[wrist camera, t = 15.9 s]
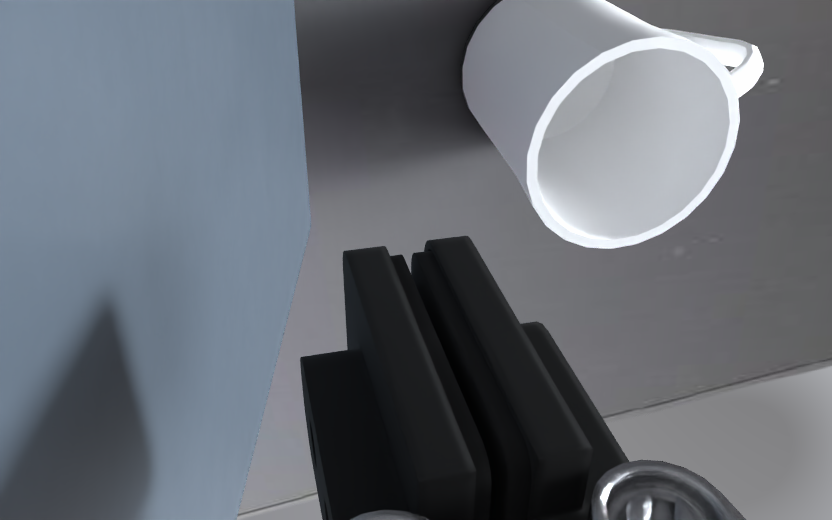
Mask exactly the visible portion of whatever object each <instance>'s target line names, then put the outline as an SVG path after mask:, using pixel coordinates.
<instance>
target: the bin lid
mask: <svg viewBox="0 0 832 520" xmlns="http://www.w3.org/2000/svg"><path fill="white" fill-rule="evenodd" d="M310 228H311V216H310V203H309V190H308V177H307V164H306V151H305V139H304V126H303V113H302V100H301V87H300V74H299V62H298V49H297V36H296V23H295V10H294V0H0V520H236V519H237V515H238V511H239V507H240V503H241V499H242V496H243V492H244V488H245V484H246V480H247V476H248V472H249V468H250V464H251V460H252V456H253V452H254V448H255V445H256V441H257V437H258V433H259V429H260V425H261V421H262V417H263V413H264V409H265V405H266V401H267V397H268V393H269V390H270V386H271V382H272V378H273V374H274V370H275V366H276V362H277V358H278V354H279V350H280V346H281V342H282V338H283V335H284V331H285V327H286V323H287V319H288V315H289V311H290V307H291V303H292V299H293V295H294V291H295V287H296V283H297V280H298V276H299V272H300V268H301V264H302V260H303V256H304V252H305V248H306V244H307V240H308V236H309V232H310Z"/></svg>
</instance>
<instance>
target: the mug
mask: <svg viewBox="0 0 832 520" xmlns="http://www.w3.org/2000/svg"><path fill="white" fill-rule="evenodd" d="M724 65H728V66H734V67H736V68H734V69H733V70H732V71H731V72H729V71H728V70H727V68H726V67H725V66H724ZM762 72H763V61H762V58H761V55H760V52H759V50H758V48H757V47H756V46H754V45H752V44H749V43H747V42H745V41H742V40H738V39H731V38H723V37H717V36H710V35H704V34H698V33H691V32H684V31H678V30H671V29H660V28H657V27H655V26H652V25H650V24H648V23H646V22H644V21H642V20H640V19H638V18H637V17H635V16H633V15H631V14H629V13H627V12H625V11H624V10H622V9H620V8H618V7H616V6H614V5H613V4H611V3H609V2H607V1H605V0H498V1H496V2H495V3H494V4H492V5H491V6H490V8H489V9H488V10H487V11H486V12H485V13H484V15H483V16H482V17H481V18H480V19H479V21H478V22H477V23H476V25H475V27H474V29H473V31H472V33H471V35H470V37H469V39H468V40H467V42H466V45H465V49H464V53H463V58H462V62H461V88H462V91H463V94H464V98H465V101H466V104H467V106H468V108H469V109H470V111H471V112H472V114H473V115H474V117H475V118H476V120H477V121H478V123H479V124H480V126H481V127H482V128H483V130H484V131H485V133H486V134H487V135H488V137H489V138H490V140H491V141H492V142H493V144H494V145H495V147H496V148H497V149H498V151H499V152H500V154H501V155H502V156H503V158H504V159H505V161H506V162H507V164H508V165H509V166H510V168H511V169H512V171H513V172H514V173H515V175H516V177H517V178H518V180H519V182H520V184H521V186H522V188H523V190H524V192H525V193H526V195H527V197H528V199H529V201H530V203H531V204H532V206H533V207H534V209H535V210H536V212H537V213H538V215H539V216H540V218H541V219H542V221H543V222H544V224H545V225H546V226H547V227H548V228H550V229H551V230H552V231H554V232H555V233H556V234H558V235H559V236H560V237H562V238H563V239H564V240H567V241H570V242H572V243H575V244H578V245H581V246H584V247H588V248H607V249H613V248H618V247H623V246H628V245H634V244H638V243H640V242H643V241H645V240H647V239H650V238H652V237H654V236H657V235H659V234H662V233H663V232H665V231H666V230H668V229H669V228H671V227H672V226H674V225H675V224H677V223H678V222H680V221H681V220H683V219H684V218H686V217H687V216H688V215H689V214H690V213H691V212H692V211H693V210H694V209H695V208H696V207H697V206H698V205H699V204H700V203H701V202H702V201H703V200H704V199H705V198H706V197H707V196H708V194H709V193H710V192H711V190H712V189H713V187H714V186H715V184H716V183H717V182H718V180H719V179H720V177H721V176H722V174H723V173H724V171H725V168H726V166H727V164H728V161H729V159H730V157H731V154H732V152H733V150H734V147H735V143H736V138H737V132H738V127H739V122H740V116H739V102H738V98H739V97H740V96H742V95H743V94H744V93H746V92H747V91H748V90H749V89H751V88H752V87H753V86H754V84H755V83H756V82H757V80H758V78H759V77H760V75H761V73H762Z"/></svg>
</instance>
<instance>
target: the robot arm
mask: <svg viewBox="0 0 832 520" xmlns="http://www.w3.org/2000/svg"><path fill="white" fill-rule="evenodd" d="M343 274H344V292H345V310H346V328H347V347H348V350H345V351H338V352H332V353H325V354H318V355H312V356H305V357H301V358H300V362H301V376H302V386H303V396H304V406H305V414H306V422H307V430H308V437H309V444H310V451H311V457H312V463H313V469H314V474H315V480H316V485H317V491H318V497H319V502H320V507H321V513H322V519H323V520H746V519H745V518H744V517H743V516H742V515H741V514H740V513H739V511H737V509H736V508H735V507H734V506H733V505H732V504H731V503H730V502H729V501H728V500H727V498H726V497H725V496H724V495H723V494H722V493H721V492H720V491H719V490H717V489H716V488H715V487H714V486H713V485H711V484H710V483H709V482H708V481H707V480H706V479H704V478H703V477H701V476H699V475H697V474H695V473H693V472H692V471H689V470H688V469H686V468H684V467H681V466H677V465H674V464H670V463H667V462H663V461H651V460H638V461H633V462H629V460H628V459H627V457H626V456H625V454H624V452H623V451H622V449H621V447H620V446H619V444H618V443H617V441H616V439H615V438H614V436H613V435H612V433H611V431H610V430H609V428H608V426H607V425H606V423H605V422H604V420H603V418H602V417H601V415H600V414H599V412H598V410H597V409H596V407H595V406H594V404H593V402H592V401H591V399H590V398H589V396H588V394H587V393H586V391H585V390H584V388H583V386H582V385H581V383H580V382H579V380H578V378H577V377H576V375H575V373H574V372H573V370H572V369H571V367H570V365H569V364H568V362H567V361H566V359H565V357H564V356H563V354H562V353H561V351H560V349H559V348H558V346H557V345H556V343H555V341H554V340H553V338H552V337H551V335H550V333H549V332H548V330H547V329H546V328H545V327H544V325H543V324H541V323H539V322H530V323H524V324H520V323H519V321H518V319H517V318H516V316H515V314H514V313H513V311H512V309H511V307H510V306H509V304H508V302H507V301H506V299H505V297H504V295H503V294H502V292H501V290H500V288H499V287H498V285H497V283H496V282H495V280H494V278H493V276H492V275H491V273H490V271H489V270H488V268H487V266H486V264H485V263H484V261H483V259H482V258H481V256H480V254H479V252H478V251H477V249H476V247H475V246H474V244H473V242H472V240H471V239H470V238H469V237H468V236H460V237H452V238H444V239H436V240H428V241H427V242H426V244H425V249H424V252H419V253H413V255H412V262H411V273H410V271H409V269H408V266H407V264H406V262H405V259H404V257H403V255H395V256H390V255H389V253H388V250H387V249H386V247H385V246H380V247H372V248H364V249H356V250H348V251H344V252H343Z"/></svg>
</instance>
